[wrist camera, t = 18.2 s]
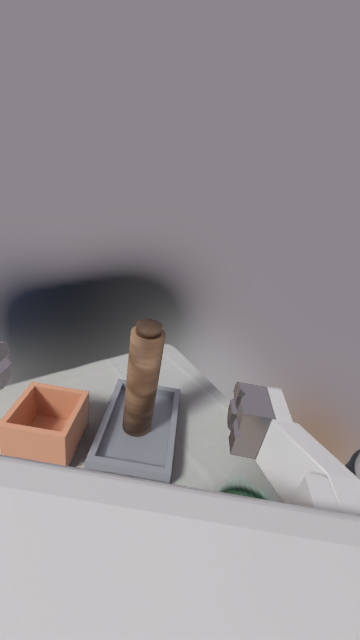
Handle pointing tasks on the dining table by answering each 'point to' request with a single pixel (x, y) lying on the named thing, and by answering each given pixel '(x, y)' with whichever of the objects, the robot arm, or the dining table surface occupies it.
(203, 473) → the dining table surface
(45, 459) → the orange open box
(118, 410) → the tray
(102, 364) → the dining table surface
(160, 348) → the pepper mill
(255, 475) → the dining table surface
